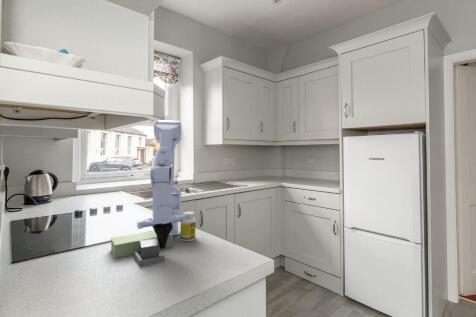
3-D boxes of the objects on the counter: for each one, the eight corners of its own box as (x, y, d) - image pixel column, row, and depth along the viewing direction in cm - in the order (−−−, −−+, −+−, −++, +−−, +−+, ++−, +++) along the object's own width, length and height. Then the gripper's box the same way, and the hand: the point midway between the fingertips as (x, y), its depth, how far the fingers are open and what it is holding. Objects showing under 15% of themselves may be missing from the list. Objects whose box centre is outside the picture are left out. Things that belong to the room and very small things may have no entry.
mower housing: (111, 249, 82) (111, 237, 82) (165, 239, 92) (165, 228, 92) (120, 271, 68) (120, 257, 68) (184, 256, 78) (184, 243, 78)
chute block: (139, 255, 79) (139, 240, 79) (156, 252, 81) (156, 238, 81) (141, 262, 73) (141, 247, 73) (159, 259, 75) (159, 244, 75)
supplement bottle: (192, 242, 90) (192, 215, 90) (178, 241, 91) (177, 214, 91) (197, 237, 95) (197, 211, 95) (184, 236, 96) (184, 210, 96)
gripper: (140, 209, 71) (141, 257, 71) (189, 203, 79) (189, 246, 79) (135, 205, 77) (135, 249, 77) (180, 200, 85) (180, 240, 85)
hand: (162, 247), depth 79 cm, fingers closed
